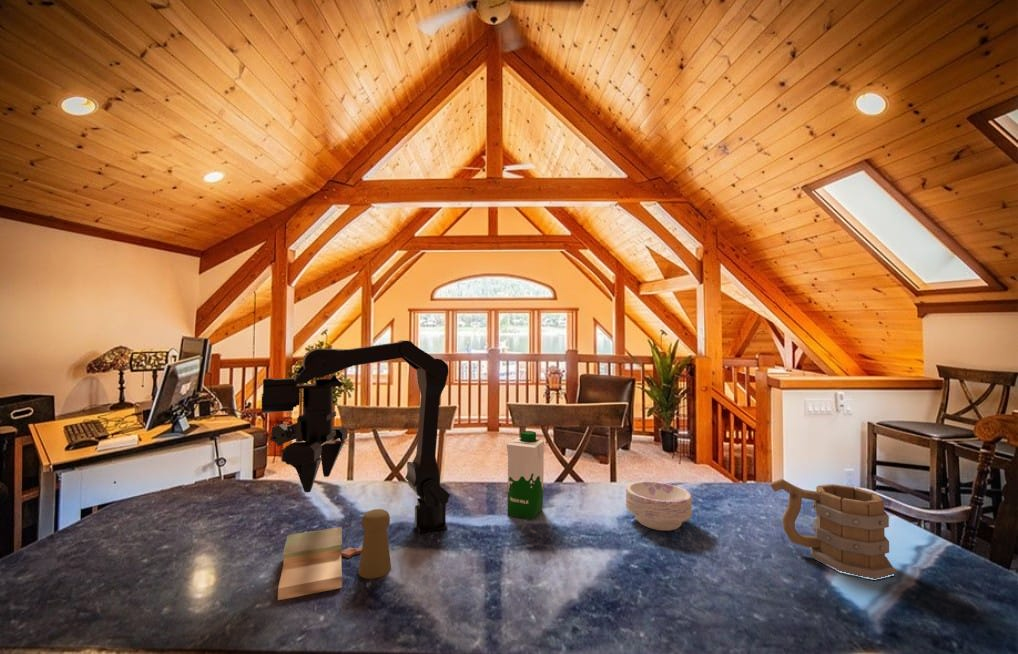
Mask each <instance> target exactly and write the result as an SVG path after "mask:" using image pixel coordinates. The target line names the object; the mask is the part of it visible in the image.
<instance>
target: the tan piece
mask: <svg viewBox="0 0 1018 654" xmlns="http://www.w3.org/2000/svg"><path fill="white" fill-rule="evenodd" d="M342 529H343V528H342V526H339V527H333V528H326V529H319V530H313V531H306V532H299V533H294V534H287V538H286V541H285V544H284V548H283V553H282V559H283V566H282V570H281V574H280V575H281V576H280V579H279V583H278V588H277V601H282V600H287V599H292V598H297V597H302V596H306V595H307V596H308V595H311V594H317V593H322V592H327V591H333V590H336V589H337V590H338V589H342V585H343V583H342V582H343V581H342V580H343V573H342V567H343V566H342V557H345V558H347V559H351V558H352V557H354V556H355V555H358V554H360V555H361V552H362V547H357V548H354V547H350V546H349V547H347V548H345V549H344V550H342V549H343V532H342V531H343V530H342Z"/></svg>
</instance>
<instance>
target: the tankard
mask: <svg viewBox="0 0 1018 654" xmlns="http://www.w3.org/2000/svg"><path fill="white" fill-rule="evenodd" d="M769 485H770V488H771V489H772V490H773V492H778V491H781V490H784V491H785V492H787V493H788V494H789V497H788V505H787V507H786V510H785V512H783V516H782V528H783V530H784V533H785V534H786V536H787V537H788V539H789V541H790V543H793V544H796V545H800V546H801V547H807V548H809V550H811V551H810V553H811V555H813V556H812V559H813V558H814V559H817V560H819V561H822V562H823V563H826V564H828V565H830V566H832V567H834V568H836V569H837V570H839V571H842V572H846V573H850V574H854V575H858V576H863V577H869V578H873V579H877V578H881V577H885V576H888V575H892V574H895V575H896V573H895V571H896V570H895V567H893V565H892V563H891V562H890V561H889V559H888V557H887V556H886V554H889V553H890V540H888V538H887V537H886V535H885V534H886V533H885V532H886V531H885V528H889V527H890V524H889V523H890V521H889V520H890V517H889V516H890V515H888V513H887V512H886V511H885V501H884V500H883V499H882V498H881V496H879V495H878V494H876V493H874V492H871V491H869V490H865V489H861V488H859V487H853V486H848V485H847V486H846V485H843V484H841V485H840V484H834V483H833V484H831V483H830V484H829V483H828V484H822V485H817V486H816V490H810V489H809V490H808V489H803V488H800V487H798V486H797V485H794V484H792V483H790V482H789V481H787V480H785V479H784V478H779V479H777V480H774V481H772V482H770V483H769ZM803 499H805V500H810V501H812V508H813V510H814V512H815V513H816V518H814V519H813V520H812V521H813V524H812V525H813V527H812V528H813V532H814V534H815V535H803V534H801V533H799V532H797V529H796V523H795V522H796V520H797V518H798V516H799V514H800V512H801V508H802V500H803ZM814 559H813V560H814Z"/></svg>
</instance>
